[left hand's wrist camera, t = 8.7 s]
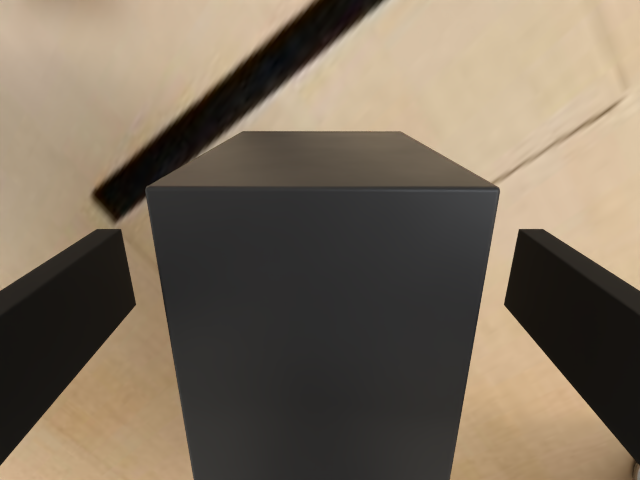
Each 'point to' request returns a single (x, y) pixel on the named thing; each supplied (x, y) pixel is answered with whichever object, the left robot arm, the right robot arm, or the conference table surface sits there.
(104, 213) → the conference table surface
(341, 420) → the bar
